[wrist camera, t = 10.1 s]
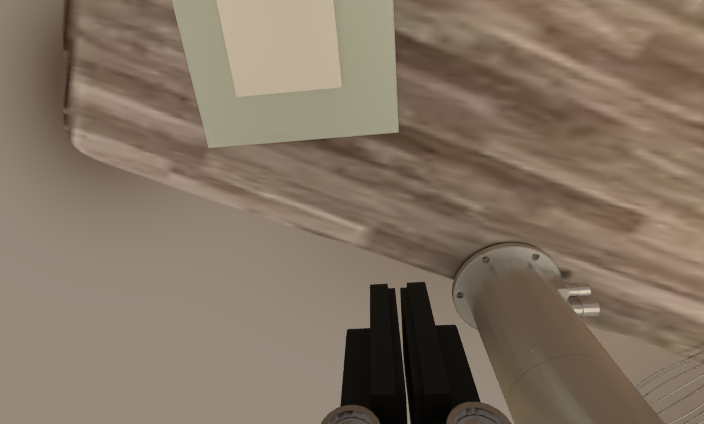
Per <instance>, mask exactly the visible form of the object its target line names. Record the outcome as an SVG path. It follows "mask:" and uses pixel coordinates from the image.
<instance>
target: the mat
mask: <svg viewBox="0 0 704 424" xmlns="http://www.w3.org/2000/svg"><path fill="white" fill-rule="evenodd" d="M172 3H173V7H174V11H175V15H176V19H177V23H178V27H179V31H180V35H181V39H182V43H183V47H184V51H185V55H186V59H187V63H188V67H189V71H190V75H191V79H192V83H193V87H194V91H195V95H196V99H197V103H198V107H199V111H200V115H201V119H202V123H203V127H204V131H205V135H206V139H207V143H208V147H209V148H216V147H228V146H240V145H252V144H264V143H276V142H288V141H300V140H313V139H325V138H337V137H349V136H361V135H373V134H385V133H397V132H399V130H398V106H397V82H396V58H395V34H394V10H393V0H335V6H336V17H337V27H338V37H339V48H340V58H341V69H342V79H343V86H342V87H340V88H329V89H318V90H308V91H297V92H286V93H275V94H265V95H254V96H243V97H236V93H235V88H234V83H233V78H232V73H231V69H230V64H229V59H228V54H227V49H226V45H225V40H224V35H223V30H222V25H221V20H220V16H219V11H218V6H217V1H216V0H172Z"/></svg>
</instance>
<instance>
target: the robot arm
mask: <svg viewBox="0 0 704 424" xmlns="http://www.w3.org/2000/svg"><path fill="white" fill-rule="evenodd" d="M400 291H401V313H402V333H403V355H404V366H405V376H406V386H407V395H408V404H409V413H410V422H411V424H511V422H510V421H509V419H508V418H507V417H506V416H505V415H504V414H503V413H501V412H500V411H499V410H498V409H496V408H494V407H492V406H490V405H488V404H485V403H481V402H480V399H479V396H478V393H477V389H476V386H475V383H474V380H473V377H472V374H471V370H470V367H469V364H468V361H467V358H466V355H465V351H464V348H463V345H462V342H461V339H460V336H459V333H458V329H457V327H456V325H437V326H435V322H434V318H433V314H432V310H431V305H430V301H429V297H428V293H427V289H426V284H425V282H414V283H407V288H400ZM590 294H591V289H590V286H589V285H588V284H587V283H581V284H572V285H567V284H566V283H564V282H562V277H561V274H560V271H559V269H558V267H557V265H556V264H555V263H554V261H553V260H552V259H551V258H550V257H549V256H548V255H547V254H546V253H544V252H543V251H541V250H540V249H538V248H536V247H534V246H530V245H527V244H521V243H503V244H498V245H494V246H491V247H488V248H486V249H483V250H481V251H479V252H478V253H476V254H474V255H473V256H472V257H471V258H469V259H468V260H467V261H466V262H465V263H464V264H463V265H462V267H461V268H460V269H459V271H458V273H457V274H456V276H455V279H454V282H453V289H452V296H453V302H454V305H455V308H456V310H457V312H458V313H459V315H460V317H461V318H462V319H463V320H464V321H465V322H466V323H468V324H469V325H470V326H472V327H474V328H476V329H478V331H479V333H480V336H481V338H482V341H483V343H484V346H485V349H486V351H487V354H488V356H489V359H490V362H491V364H492V367H493V369H494V372H495V375H496V377H497V380H498V382H499V385H500V387H501V390H502V392H503V395H504V398H505V400H506V403H507V405H508V408H509V411H510V414H511V416H512V419H513V421H514V424H665V423H664V422H663V420H662V419H661V418H660V417H659V416H658V414H657V413H656V412H655V411H654V410H653V409H652V407H651V406H650V405H649V404H648V403H647V401H646V400H645V399H644V398H643V397H642V396H641V394H640V393H639V392H638V390H637V389H636V388H635V387H634V386H633V384H632V383H631V382H630V380H629V379H628V378H627V377H626V376H625V374H624V373H623V372H622V370H621V369H620V368H619V367H618V365H617V364H616V363H615V362H614V360H613V359H612V358H611V356H610V355H609V354H608V353H607V351H606V350H605V349H604V348H603V346H602V345H601V344H600V342H598V340H597V339H596V337H595V336H594V335H593V334H592V332H591V331H590V330H589V329H588V327H587V326H586V325H585V323H584V322H583V321H582V320H581V318H580V317H579V316H581V317H583V316H598V315H599V312H600V308H599V304H598V302H597V301H596V300H595V299H578V300H570V301H568V300H567V298H569V296H589V295H590ZM321 424H407V408H406V392H405V380H404V371H403V361H402V352H401V342H400V333H399V323H398V314H397V305H396V295H395V288H392V289H391V288H390V289H388V284H375V285H370V328H364V329H348V330H347V336H346V347H345V359H344V371H343V385H342V395H341V407H339V408H336V409H335V410H333V411H332V412H330V413H329V414H328V415H327V416H326V417H325V418H324V420H323V421H322V423H321Z"/></svg>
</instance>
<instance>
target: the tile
mask: <svg viewBox="0 0 704 424" xmlns="http://www.w3.org/2000/svg"><path fill="white" fill-rule="evenodd" d="M216 1H217V6H218V11H219V16H220V20H221V25H222V30H223V35H224V40H225V45H226V49H227V54H228V59H229V64H230V69H231V73H232V78H233V83H234V88H235V93H236V97H243V96H254V95H265V94H275V93H286V92H297V91H308V90H318V89H329V88H340V87H342V86H343V79H342V69H341V58H340V48H339V37H338V27H337V17H336V6H335V0H216Z"/></svg>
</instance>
